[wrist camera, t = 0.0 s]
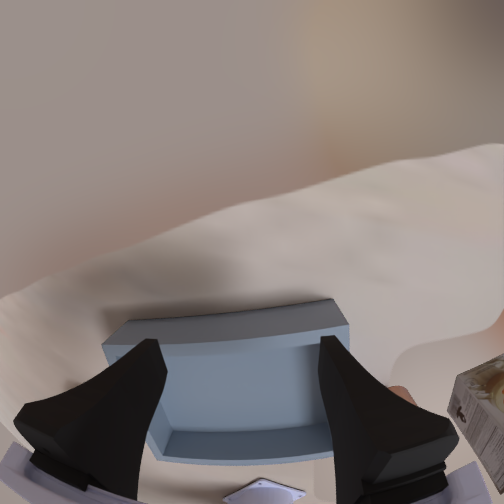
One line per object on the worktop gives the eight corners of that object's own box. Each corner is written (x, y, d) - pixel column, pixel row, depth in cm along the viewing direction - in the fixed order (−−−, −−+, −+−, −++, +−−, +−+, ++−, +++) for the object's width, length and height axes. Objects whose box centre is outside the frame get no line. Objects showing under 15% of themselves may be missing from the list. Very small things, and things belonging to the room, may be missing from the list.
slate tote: (333, 298, 22) (349, 324, 17) (335, 420, 24) (344, 454, 19) (128, 320, 23) (101, 344, 18) (170, 429, 25) (157, 460, 21)
